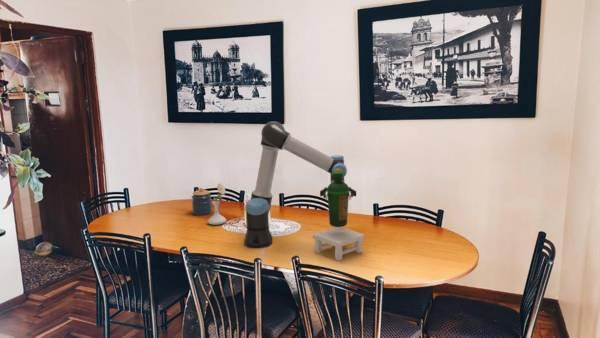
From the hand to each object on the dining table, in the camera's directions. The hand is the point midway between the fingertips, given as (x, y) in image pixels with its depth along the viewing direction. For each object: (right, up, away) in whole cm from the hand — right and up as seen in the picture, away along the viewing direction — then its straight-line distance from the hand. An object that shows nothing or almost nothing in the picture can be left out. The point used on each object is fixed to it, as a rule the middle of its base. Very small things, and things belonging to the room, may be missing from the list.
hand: (338, 197), depth 203 cm
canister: (-85, -17, +85) cm, 121 cm away
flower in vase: (-69, -20, +61) cm, 95 cm away
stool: (+1, -28, +9) cm, 29 cm away
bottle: (+1, -14, +7) cm, 16 cm away
